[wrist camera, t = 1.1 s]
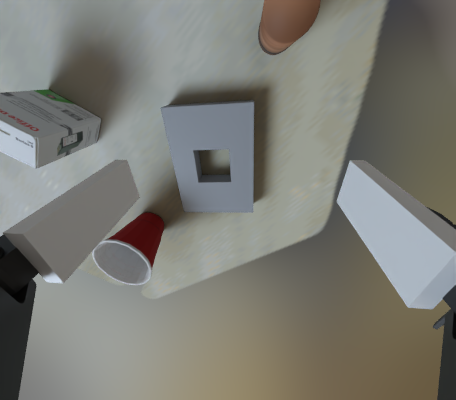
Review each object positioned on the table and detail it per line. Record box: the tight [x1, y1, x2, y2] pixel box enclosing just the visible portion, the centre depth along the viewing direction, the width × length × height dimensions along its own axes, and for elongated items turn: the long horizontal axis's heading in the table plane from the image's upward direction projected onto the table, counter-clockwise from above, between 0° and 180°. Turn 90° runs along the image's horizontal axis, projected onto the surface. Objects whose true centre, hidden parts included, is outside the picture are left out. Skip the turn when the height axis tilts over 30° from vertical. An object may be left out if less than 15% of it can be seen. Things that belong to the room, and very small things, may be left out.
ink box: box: [0, 90, 101, 169], centre depth 27 cm, size 9×5×12 cm, turn 59°
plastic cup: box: [92, 213, 164, 285], centre depth 38 cm, size 11×11×12 cm
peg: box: [258, 0, 321, 55], centre depth 19 cm, size 4×4×12 cm
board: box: [161, 100, 254, 212], centre depth 32 cm, size 18×13×3 cm
